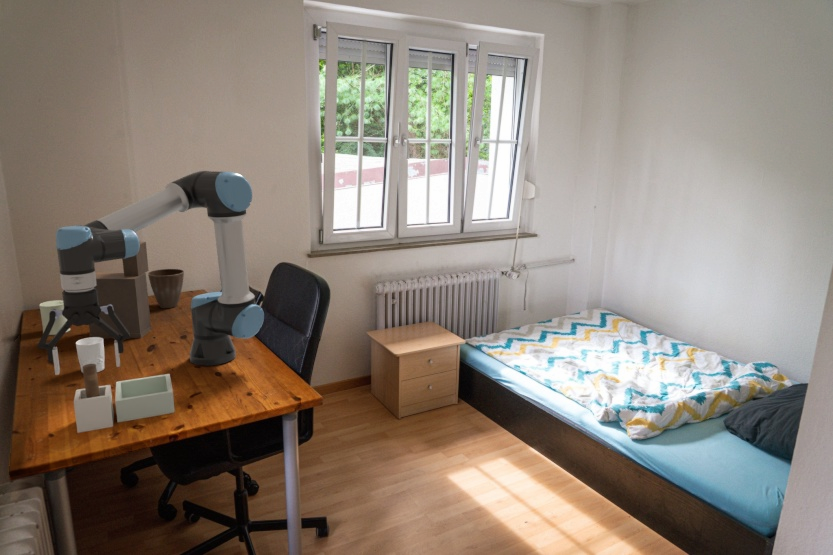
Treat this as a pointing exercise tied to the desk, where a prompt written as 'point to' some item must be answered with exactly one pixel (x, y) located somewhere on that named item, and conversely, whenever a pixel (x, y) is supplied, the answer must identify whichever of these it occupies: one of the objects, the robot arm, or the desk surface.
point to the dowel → (91, 380)
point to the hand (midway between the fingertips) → (88, 369)
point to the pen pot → (94, 410)
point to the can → (45, 311)
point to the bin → (144, 397)
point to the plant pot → (167, 286)
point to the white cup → (91, 352)
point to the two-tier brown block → (125, 297)
